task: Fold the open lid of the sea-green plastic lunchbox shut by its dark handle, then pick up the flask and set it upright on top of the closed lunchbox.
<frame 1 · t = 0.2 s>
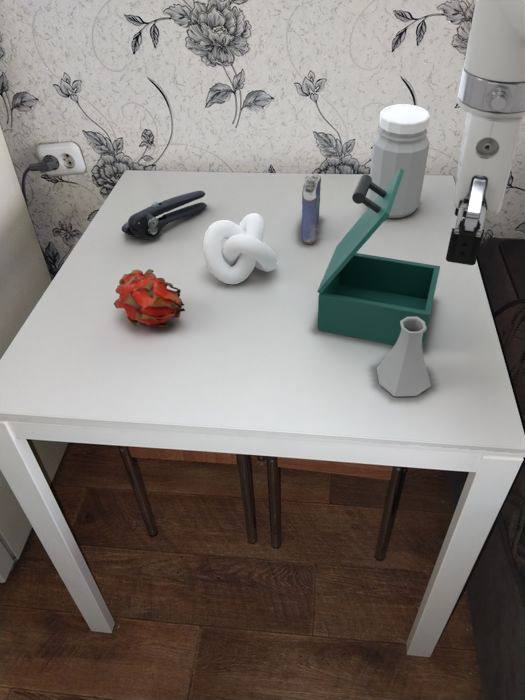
hand: (464, 238, 69), 20 cm above the table, tool pointing down, fingers open, 9 cm apart
dragon fruit: (154, 318, 92), on the table
lunchbox lid: (347, 224, 81), point 15 cm above the table, hinge at 60.0°
lunchbox: (376, 315, 91), on the table
can opener: (170, 225, 111), on the table
flask: (402, 379, 81), on the table
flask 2: (310, 231, 108), on the table
white decorative knot: (246, 272, 100), on the table
jar: (392, 207, 113), on the table
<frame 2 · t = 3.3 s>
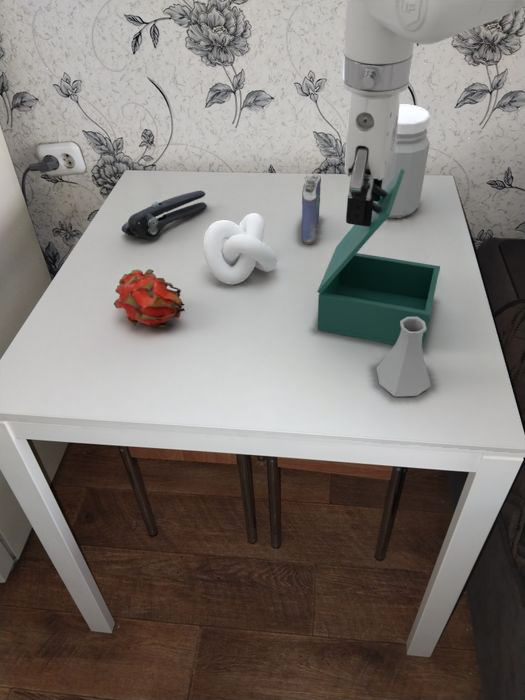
hand: (363, 210, 79), 18 cm above the table, tool pointing down, fingers closed on lunchbox lid, 5 cm apart
lunchbox lid: (348, 224, 81), point 15 cm above the table, hinge at 59.8°, touching gripper
everything else where it was.
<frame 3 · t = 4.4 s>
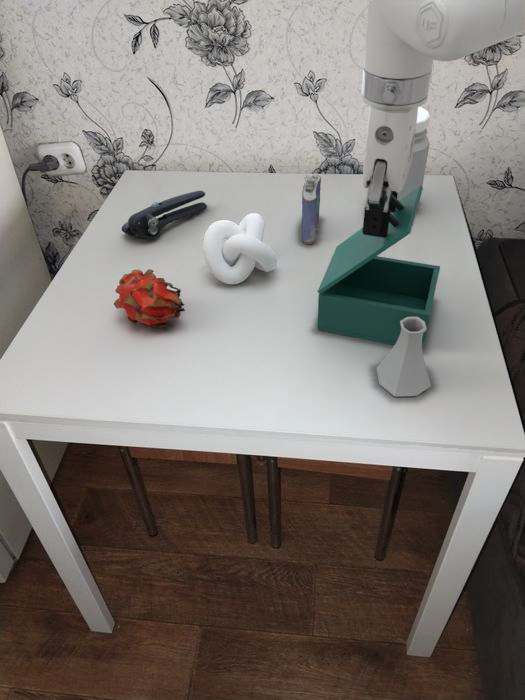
hand: (379, 221, 79), 17 cm above the table, tool pointing down, fingers open, 5 cm apart
lunchbox lid: (359, 230, 81), point 15 cm above the table, hinge at 47.5°, touching gripper
everything else where it was.
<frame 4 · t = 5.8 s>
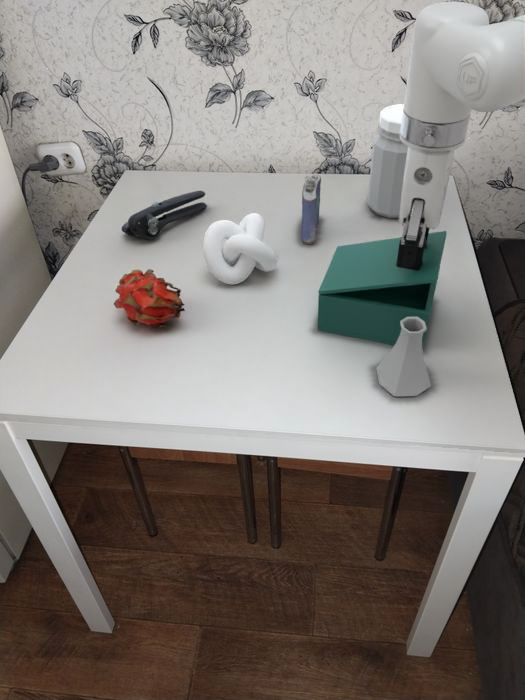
hand: (411, 253, 81), 12 cm above the table, tool pointing down, fingers open, 5 cm apart
lunchbox lid: (379, 251, 82), point 12 cm above the table, hinge at 19.5°, touching gripper
everything else where it was.
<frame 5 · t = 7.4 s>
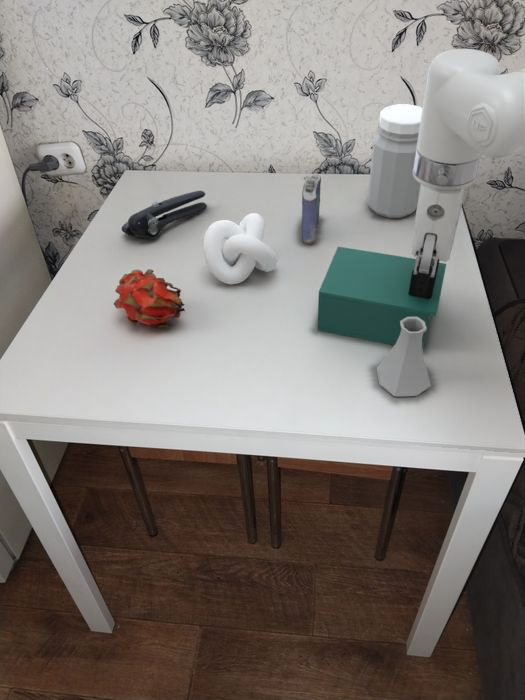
hand: (423, 282, 84), 8 cm above the table, tool pointing down, fingers closed on lunchbox lid, 5 cm apart
lunchbox lid: (385, 267, 84), point 9 cm above the table, hinge at -0.2°, touching gripper, lunchbox
everything else where it was.
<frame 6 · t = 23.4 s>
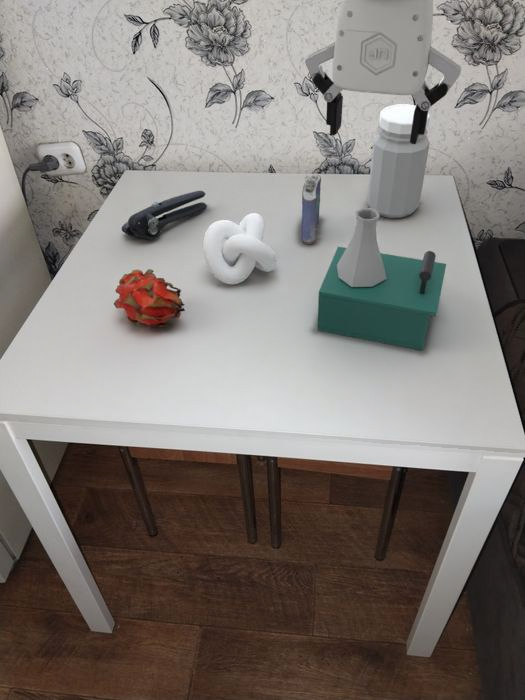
hand: (374, 134, 72), 28 cm above the table, tool pointing down, fingers open, 9 cm apart
lunchbox lid: (385, 267, 84), point 9 cm above the table, hinge at -0.2°, touching lunchbox, flask
flask: (361, 274, 86), point 7 cm above the table, touching lunchbox lid
everything else where it was.
at the end: lunchbox lid at +0° (first picture: +60°); flask inside the target area on the lunchbox (2.9 cm from its centre), point 7.2 cm above the lunchbox's base; flask tilted 0° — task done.
